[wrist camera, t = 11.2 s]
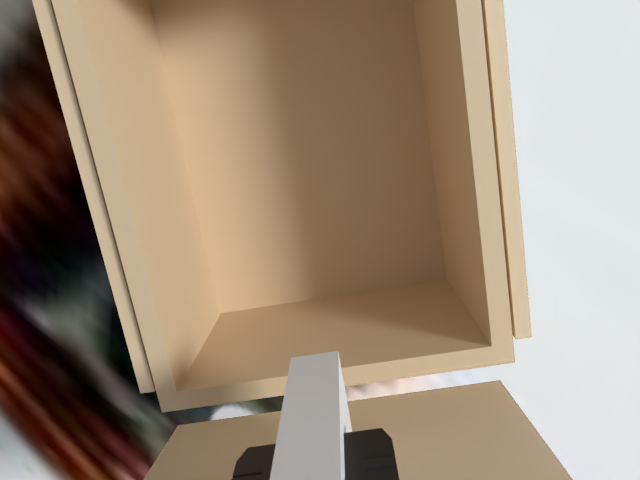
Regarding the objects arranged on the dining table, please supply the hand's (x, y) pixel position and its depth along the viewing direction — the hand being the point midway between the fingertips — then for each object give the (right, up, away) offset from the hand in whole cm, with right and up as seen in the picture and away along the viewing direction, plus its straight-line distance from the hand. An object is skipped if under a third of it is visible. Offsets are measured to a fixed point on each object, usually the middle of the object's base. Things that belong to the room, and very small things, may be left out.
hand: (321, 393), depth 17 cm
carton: (-1, +10, +11) cm, 15 cm away
